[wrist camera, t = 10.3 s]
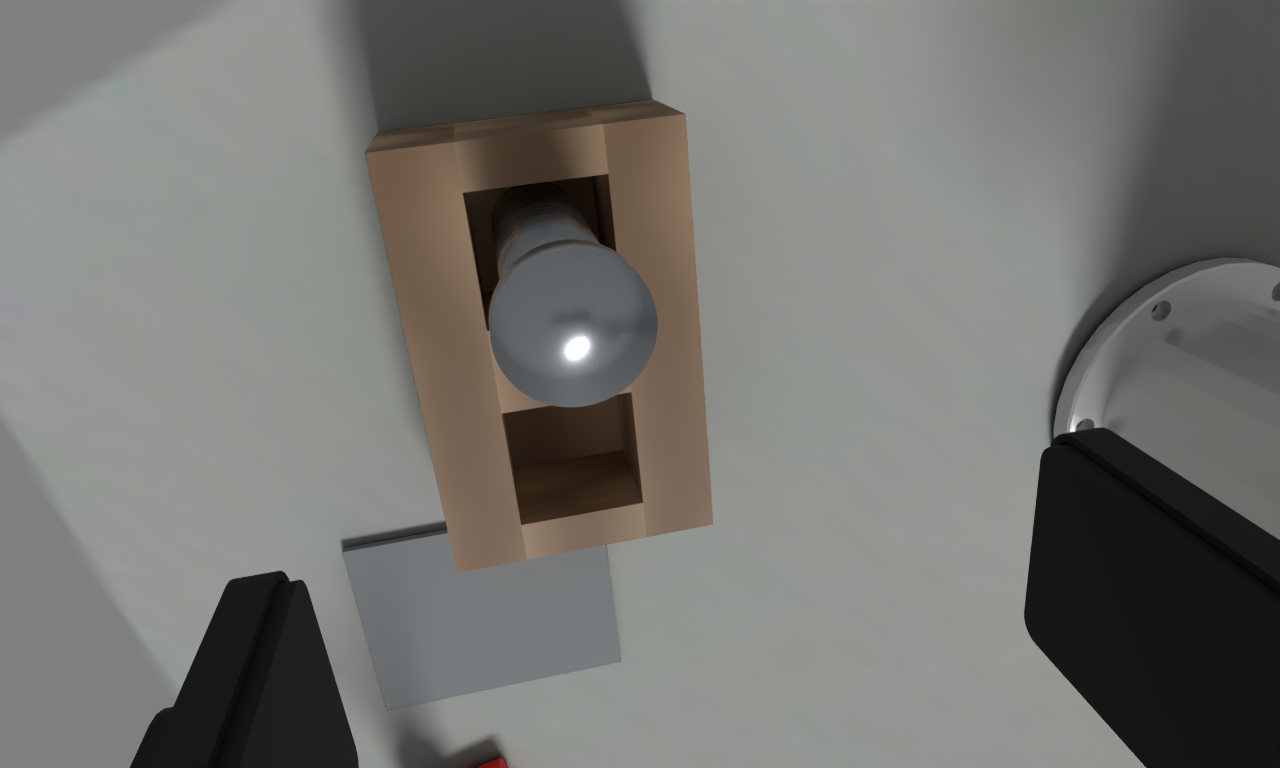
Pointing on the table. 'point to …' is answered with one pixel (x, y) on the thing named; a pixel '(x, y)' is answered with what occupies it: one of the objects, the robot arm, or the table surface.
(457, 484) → the block
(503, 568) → the mat
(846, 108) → the table surface
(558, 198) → the pin
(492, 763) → the tow hook
